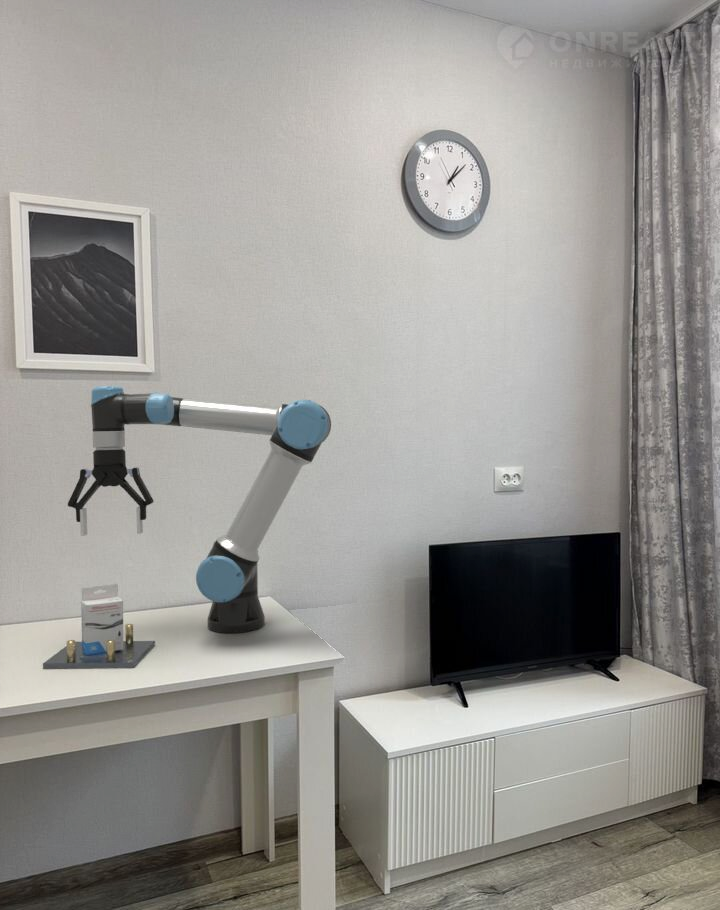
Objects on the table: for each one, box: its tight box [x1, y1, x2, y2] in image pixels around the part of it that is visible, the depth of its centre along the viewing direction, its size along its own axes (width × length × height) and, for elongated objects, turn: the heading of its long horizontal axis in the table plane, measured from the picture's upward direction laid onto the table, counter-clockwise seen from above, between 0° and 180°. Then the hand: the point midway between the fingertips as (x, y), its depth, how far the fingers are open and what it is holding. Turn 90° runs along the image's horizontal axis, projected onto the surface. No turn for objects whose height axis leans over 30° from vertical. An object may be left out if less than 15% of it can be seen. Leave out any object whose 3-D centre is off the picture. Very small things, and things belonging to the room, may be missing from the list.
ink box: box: [80, 583, 124, 655], centre depth 160 cm, size 8×5×15 cm, turn 123°
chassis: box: [42, 623, 156, 670], centre depth 160 cm, size 20×16×6 cm
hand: (112, 534), depth 172 cm, fingers open, 13 cm apart
